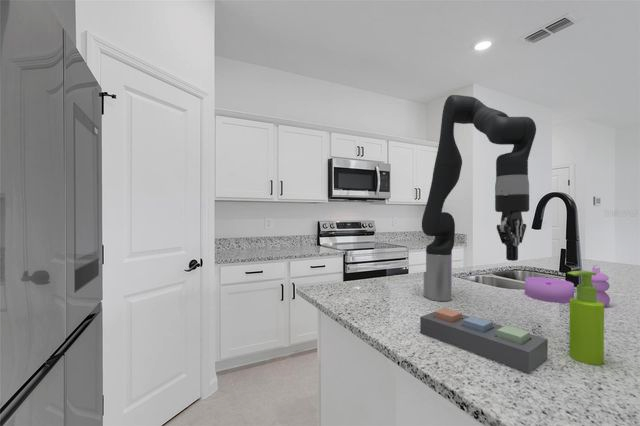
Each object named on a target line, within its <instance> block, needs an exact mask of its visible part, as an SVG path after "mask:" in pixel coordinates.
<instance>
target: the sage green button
mask: <svg viewBox="0 0 640 426" xmlns="http://www.w3.org/2000/svg"><path fill="white" fill-rule="evenodd" d="M503 326H504V327H502V328H500V329H498V330H497V337H498V338H501V339H504V340H507V341H511V342H514V343H517V344H520V345H524V344H525V343H527V342H528V341H530V334H531V332H530V331H528V330H524V329H522V328H517V327H513V326H511V325H503Z"/></svg>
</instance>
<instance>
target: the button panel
mask: <svg viewBox="0 0 640 426" xmlns="http://www.w3.org/2000/svg"><path fill="white" fill-rule="evenodd" d="M469 317H470V316H469V315H464V314H462V320H459V321H457V322H454V323H450V322H447V321H444V320H441V319H438V318H435V311H433V312H430V313H427V314H423V315H420V319H419V320H420V321H419V324H420V325H419V329H420V330H419V331H420V332H419V333H420V334H422V335H425V336H427V337H430V338H433V339H435V340H438V341H440V342H444V343H446V344H448V345H451V346H453V347H457V348H459V349H461V350H465V351H467V352H469V353H472V354H475V355H476V356H477V355H478V356H480V357H483V358H486V359H487V360H491V361H494V362H495V363H499V364H502V365H505V366H506V367H509V368H513V369H515V370H518V371H520V372H523V373H525V374H528V375H530V373H532V372H533V371H535V370H536V369H537V368H538V367H539V366H540V365H542V363H544V362H545V361H547V359H548V357H549V356H548V352H549V351H548V348H549V347H548V346H549V345H548V343H549V341H548V340H549V338H545V337H544V336H543V337H542V336H539V335H535V334H532V333H530V341H528V342H527V343H525V344H524V345H520V344H517V343H514V342H511V341H507V340H504V339H501V338H498V337H497V330H498V329H500V328H502V327H504V326H505V325H500V324H497V323H494V322H493V329H492V330H490V331H488V332H486V333H482V332H479V331H476V330H473V329H469V328H466V327H463V320H464V319H467V318H469Z"/></svg>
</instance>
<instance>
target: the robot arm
mask: <svg viewBox="0 0 640 426" xmlns="http://www.w3.org/2000/svg"><path fill="white" fill-rule="evenodd" d="M455 124H461V125H467V124H470V125H471V124H473V127H474V128H475V129H476V130H478V131H479V132H481V133H482V134H483V135H485V136H486V138H487V139H488V141H489V142H490V143H492V144H494V145H503V146H506V145H507V146H508V145H511V146H512V145H513V147H512V150H511V152H510V151H509V152H505V153H502V154H500V155H497V157H496V160H495V184H494V200H495V201H494V205H495V206H494V208H495V209H494V210H495V212H496V213H501V217H500V224H497V225H496V230H497V234H498V235H499V239H500V241H501V243H502V244H504V246H505V247H506V248H505V249H506V250H505V251H506V253H505V255H506V260H507V261H512V262H515V261H518V260H519V246H520V244H523V240H524V236H525V234H526V233H525V232H526V229H527V224H526V223H524V219H523V215H522V213H528V212H529V211H530V181H529V176H528V175H529V157H530V154H531V151H532V147H533V145H534V144H533V143H534V141H535V137H536V133H537V125H536V123H535V121H534V119H532V118H531V117H528V116H509V115H508V114H507V113H506V112H503V111H501V110H498V109H495V108H491V107H489V106H487V105H485V104H484V103H483V102H481V100H479V99H478V98H476V97H474V96H469V95H460V94H459V95H458V94H451V95H448V96H447V98H446V100H445V102H444V105H443V110H442V113H441V125H440V134H439V142H438V147H437V151H436V157H435V162H434V166H433V170H432V172H433V173H432V179H431V183H430V188H429V193H428V198H427V201H426V204H425V207H424V212H423V215H422V219H421V230H422V232H423V233H424V235H425V236H428V237H434V239H433V241H431V243H428V244H427V245H426V247H425V271H424V272H423V297H426V298H427V299H429V300H432V301H437V302H448V301H451V300H452V291H453V290H452V288H453V287H452V286H453V285H452V283H453V282H452V279H453V277H452V276H453V275H452V274H453V273H452V271H453V267H452V266H453V265H452V263H453V262H452V260H453V258H452V255H453V253H452V252H453V248H454V246H455V233H456V232H455V231H456V223H455V219H454V217H453V215H452V214H451V213H449V212H445V211H444V212H443V208H444V205H445V201H446V199H447V198H448V196H449V195H450V193H451V192H452V191H453V189H454V188H455V187H456V186H457V183H458V182H459V181H460V176H461V171H462V166H463V158H462V155H461V152H460V150H459V148H458V145H457V142H456V140H455V132H454V131H455Z"/></svg>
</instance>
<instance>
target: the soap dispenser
mask: <svg viewBox="0 0 640 426" xmlns="http://www.w3.org/2000/svg"><path fill="white" fill-rule="evenodd" d="M566 274H567V275H569V276H573V277H579V276H581V283H580V284H577V285H576V297H574V298H571V299H570V303H569V338H568V341H569V343H568V344H569V345H568V346H569V347H568V349H569V350H568V351H569V352H568V353H569V357H570V358H571V357H572V360H575V361H578V362H580V363H582V364H586V365H592V366H603V365H604V364H605V362H604V359H605V307H604V304H603V303H601V302H599V301H597V288H596V287H595V286H593V285H592V275H596V273H594V272H592V271H590V270H572V271H568V272H567V273H566Z"/></svg>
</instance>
